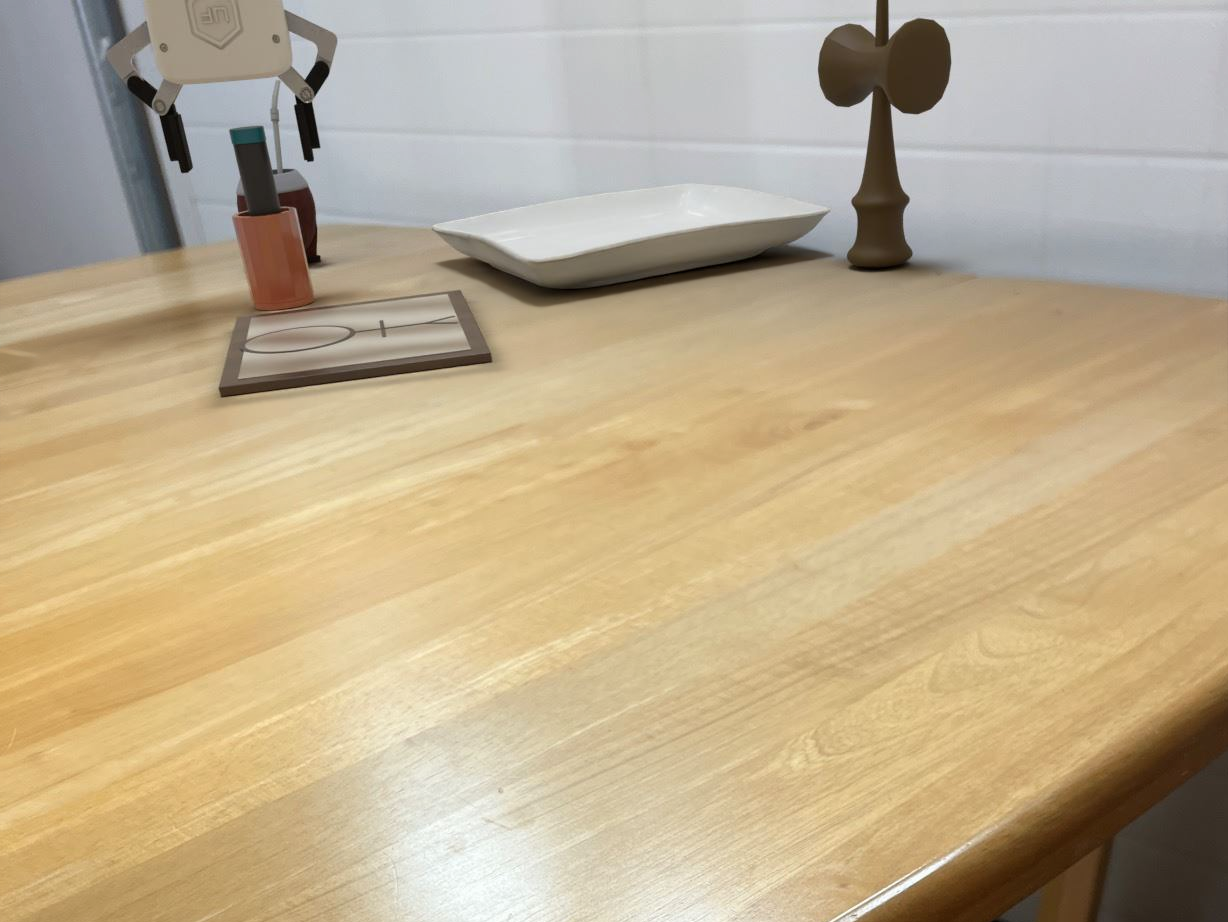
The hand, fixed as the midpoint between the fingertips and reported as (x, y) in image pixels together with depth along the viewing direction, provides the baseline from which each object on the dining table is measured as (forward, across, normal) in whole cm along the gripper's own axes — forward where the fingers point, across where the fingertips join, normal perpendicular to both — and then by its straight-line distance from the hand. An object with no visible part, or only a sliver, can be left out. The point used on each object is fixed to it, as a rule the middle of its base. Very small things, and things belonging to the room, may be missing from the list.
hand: (248, 165), depth 108 cm
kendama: (+10, +48, -15) cm, 51 cm away
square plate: (+10, +30, +2) cm, 32 cm away
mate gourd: (+10, 0, +20) cm, 23 cm away
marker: (+10, +1, 0) cm, 10 cm away
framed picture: (+10, +6, -19) cm, 22 cm away
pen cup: (+10, 0, 0) cm, 10 cm away
